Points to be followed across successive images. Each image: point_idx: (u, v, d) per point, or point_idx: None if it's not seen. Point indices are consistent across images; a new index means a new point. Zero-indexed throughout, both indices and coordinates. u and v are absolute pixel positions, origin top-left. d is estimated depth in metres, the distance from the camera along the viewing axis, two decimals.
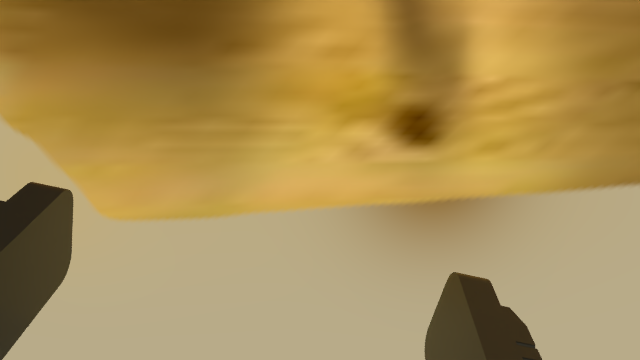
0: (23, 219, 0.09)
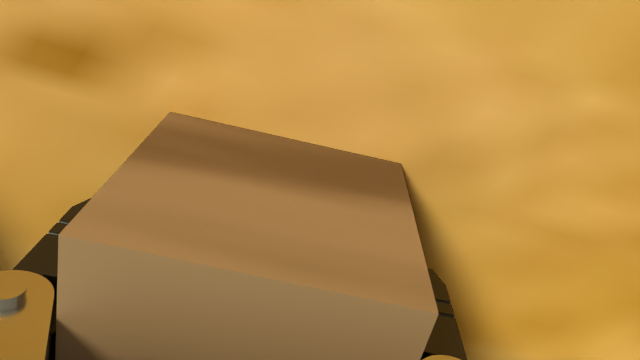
0: None
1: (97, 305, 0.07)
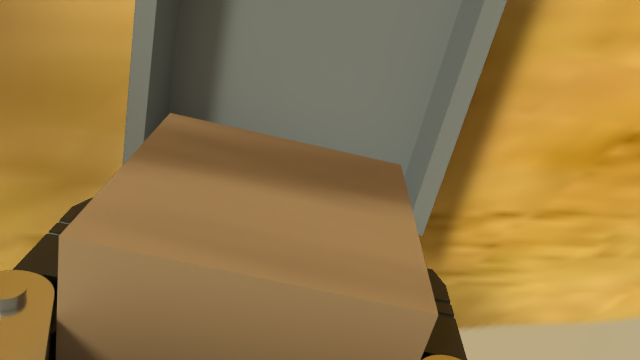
0: None
1: (97, 306, 0.07)
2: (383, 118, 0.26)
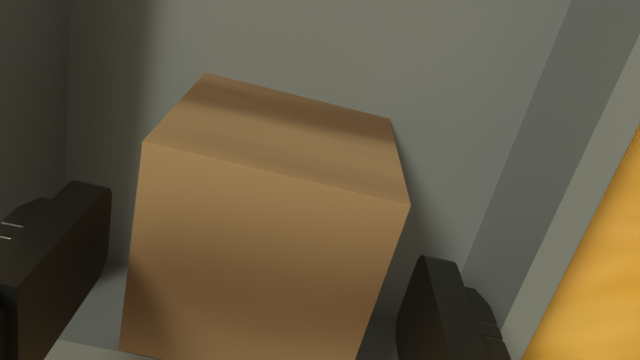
0: (71, 215, 0.10)
1: (165, 196, 0.10)
2: (410, 235, 0.16)
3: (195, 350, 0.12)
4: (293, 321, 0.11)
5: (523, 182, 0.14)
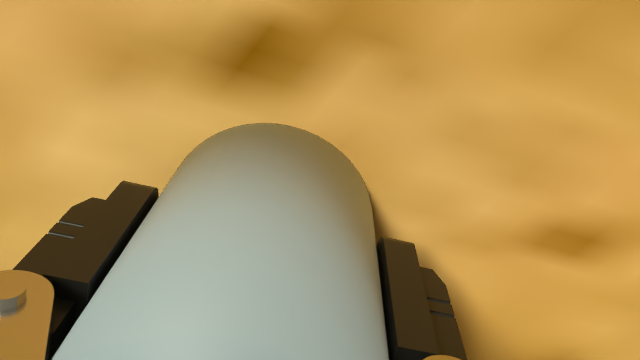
0: (126, 214, 0.10)
1: None
2: None
3: None
4: None
5: None
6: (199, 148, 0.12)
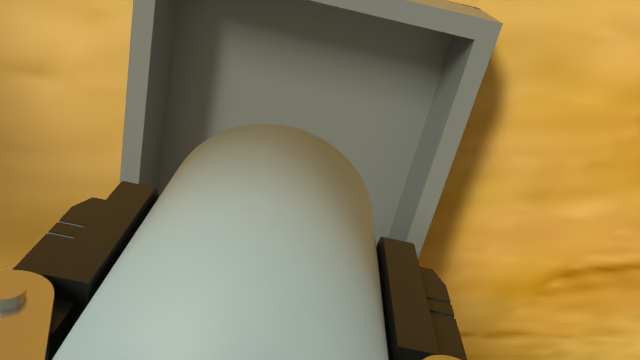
0: (126, 215, 0.10)
1: None
2: None
3: None
4: None
5: (396, 233, 0.27)
6: (199, 149, 0.12)
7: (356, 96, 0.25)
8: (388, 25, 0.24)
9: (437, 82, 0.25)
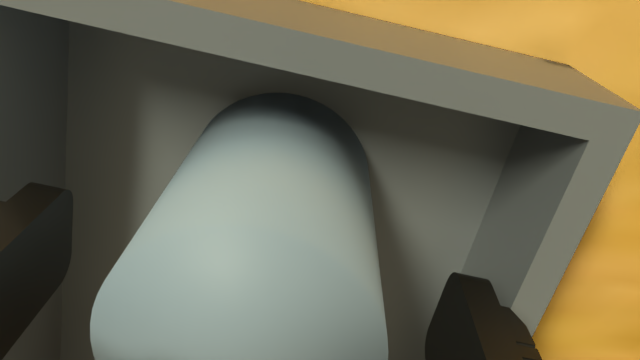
0: (23, 219, 0.09)
1: None
2: None
3: None
4: None
5: None
6: (221, 113, 0.14)
7: None
8: None
9: (496, 182, 0.15)
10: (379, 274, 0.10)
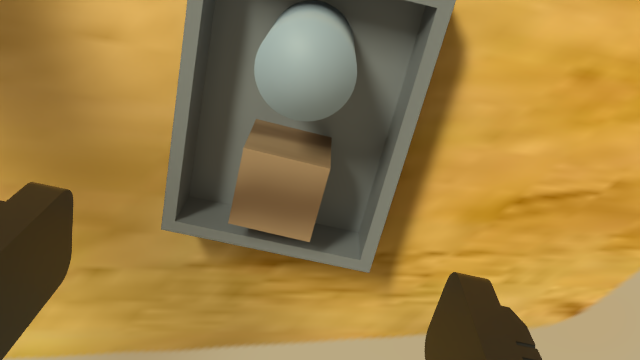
0: (23, 219, 0.09)
1: (249, 165, 0.31)
2: (343, 188, 0.37)
3: (256, 223, 0.33)
4: (292, 211, 0.32)
5: (383, 163, 0.34)
6: (287, 9, 0.32)
7: None
8: (376, 0, 0.32)
9: (413, 44, 0.33)
10: (355, 54, 0.28)
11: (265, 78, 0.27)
